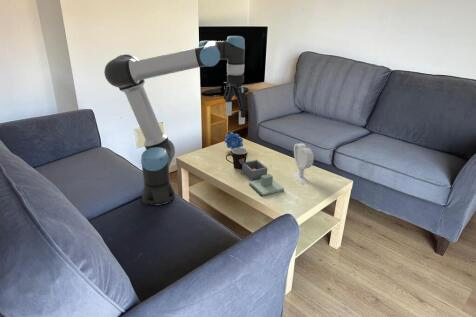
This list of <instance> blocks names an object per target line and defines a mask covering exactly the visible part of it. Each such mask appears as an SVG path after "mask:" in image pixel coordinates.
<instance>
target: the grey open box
mask: <svg viewBox="0 0 476 317" xmlns="http://www.w3.org/2000/svg"><path fill="white" fill-rule="evenodd" d="M253 169H256V170H253ZM241 173H242V174H243V175H244V177H246V178H247V179H248V180H249V181H250V182H251V181H255V180H259V179H261V176H263V175H267V174H268V167H267V166H266V165H264V164H263V163H262V162H261V161H260V160H258V159H254V160H249V161H246V162H244V163H242V170H241Z"/></svg>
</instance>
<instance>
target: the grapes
mask: <svg viewBox="0 0 476 317" xmlns="http://www.w3.org/2000/svg"><path fill="white" fill-rule="evenodd" d="M223 141H224V143H225V144H226V148H227V149H231V151H232V150H233V149H234V148H244V143H243V142H244V139H243V137H240V134H239V133H234V132H229V134H225V139H224V140H223Z"/></svg>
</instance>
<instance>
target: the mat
mask: <svg viewBox="0 0 476 317" xmlns="http://www.w3.org/2000/svg"><path fill="white" fill-rule="evenodd" d="M248 185H249V187H251V189H253V190H254V191H255V192H256V193H257V194H258V195H259V196H260V197H264V196H265V195H262V194H261V193H260V192H258V191H257V190H256V189H255V188H254V187H253V186H252V185H251V184H250V183H249V184H248ZM283 191H284V190H281V191H278V192H283ZM278 192H274V193H271V194H275V193H276V194H277V193H278ZM271 194H270V195H271ZM268 195H269V194H267V195H266V196H268Z"/></svg>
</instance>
